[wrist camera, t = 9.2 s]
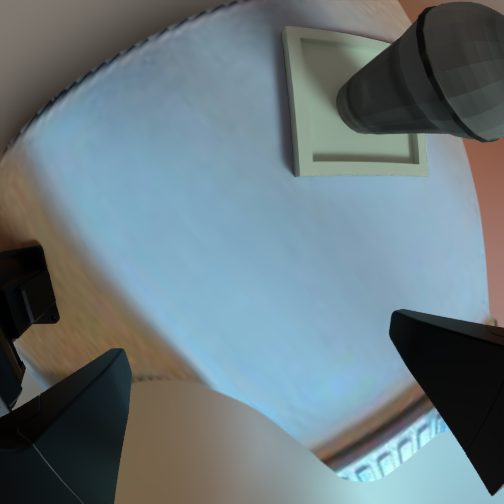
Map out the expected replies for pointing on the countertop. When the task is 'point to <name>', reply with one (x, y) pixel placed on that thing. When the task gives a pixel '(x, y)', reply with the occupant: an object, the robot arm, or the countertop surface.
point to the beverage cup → (434, 78)
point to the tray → (326, 113)
